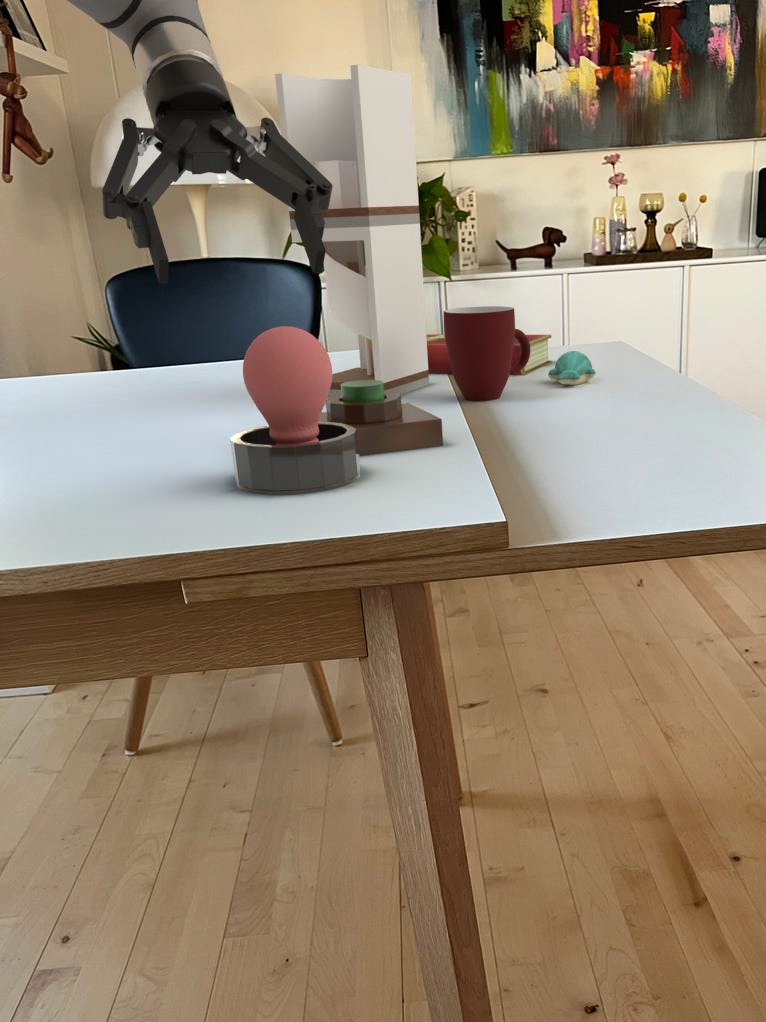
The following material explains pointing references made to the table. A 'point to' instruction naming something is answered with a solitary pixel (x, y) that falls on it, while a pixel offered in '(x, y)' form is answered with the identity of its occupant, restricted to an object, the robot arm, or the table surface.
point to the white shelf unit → (366, 214)
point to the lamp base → (386, 424)
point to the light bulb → (288, 382)
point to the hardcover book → (538, 359)
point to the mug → (483, 349)
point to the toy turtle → (572, 369)
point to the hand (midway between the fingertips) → (244, 267)
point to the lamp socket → (296, 461)
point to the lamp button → (362, 391)
